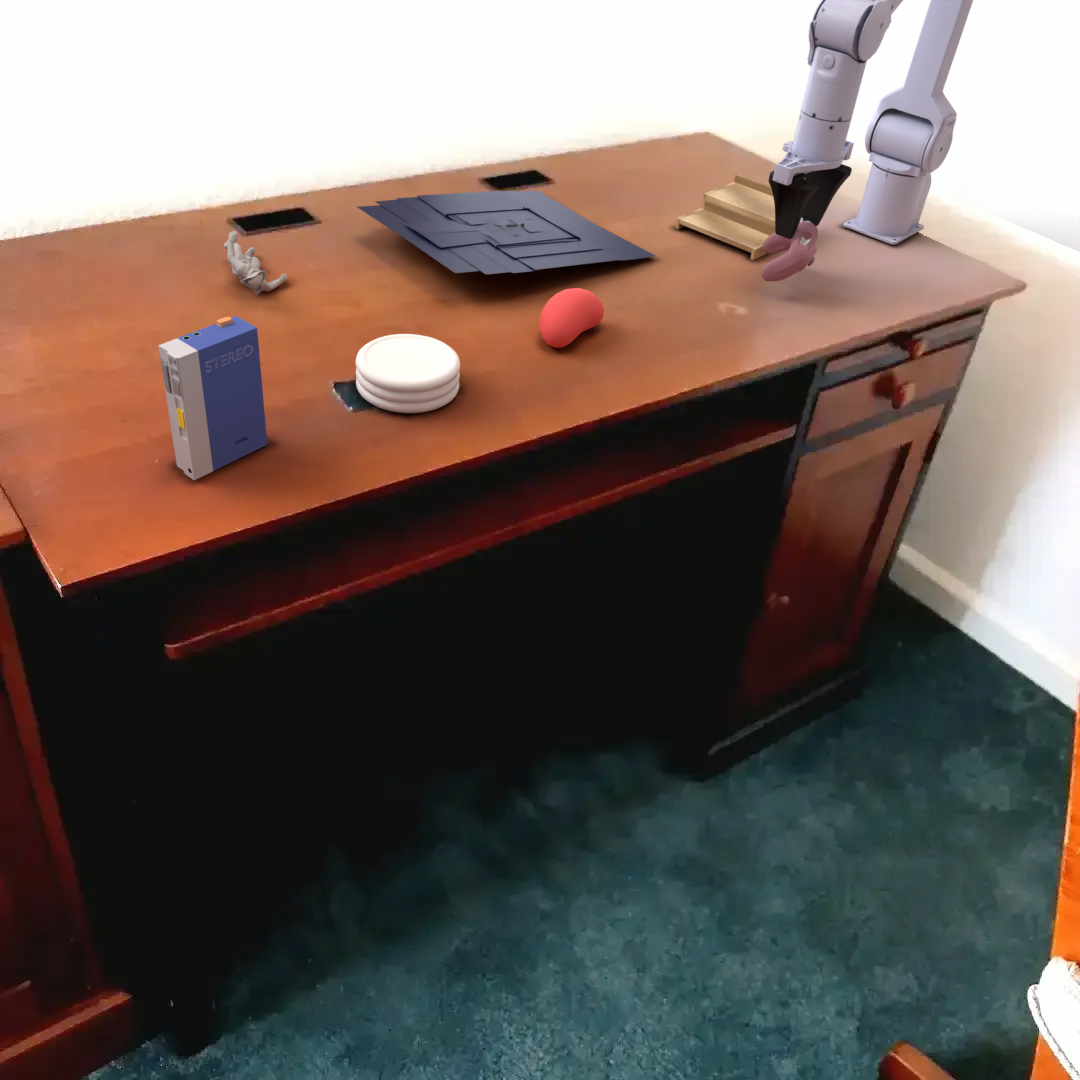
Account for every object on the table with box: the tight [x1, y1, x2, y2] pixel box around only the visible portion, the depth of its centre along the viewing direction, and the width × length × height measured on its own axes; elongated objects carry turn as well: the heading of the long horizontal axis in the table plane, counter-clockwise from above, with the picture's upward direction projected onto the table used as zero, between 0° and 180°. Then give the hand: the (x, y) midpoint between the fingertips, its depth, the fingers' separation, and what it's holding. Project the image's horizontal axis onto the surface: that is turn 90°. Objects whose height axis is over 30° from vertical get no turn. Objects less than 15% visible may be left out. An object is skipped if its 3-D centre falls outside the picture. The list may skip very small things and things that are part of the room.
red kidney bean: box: [539, 287, 605, 349], centre depth 114 cm, size 5×9×6 cm
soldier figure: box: [223, 230, 289, 296], centre depth 117 cm, size 8×5×12 cm
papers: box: [356, 190, 656, 275], centre depth 131 cm, size 24×30×4 cm
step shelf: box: [675, 173, 775, 261], centre depth 141 cm, size 14×12×4 cm
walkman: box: [157, 315, 268, 481], centre depth 89 cm, size 8×3×12 cm, turn 140°
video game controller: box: [760, 218, 819, 282], centre depth 128 cm, size 10×5×7 cm, turn 169°
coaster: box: [355, 333, 461, 414], centre depth 103 cm, size 10×10×4 cm
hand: (797, 229), depth 127 cm, fingers closed on video game controller, 5 cm apart
